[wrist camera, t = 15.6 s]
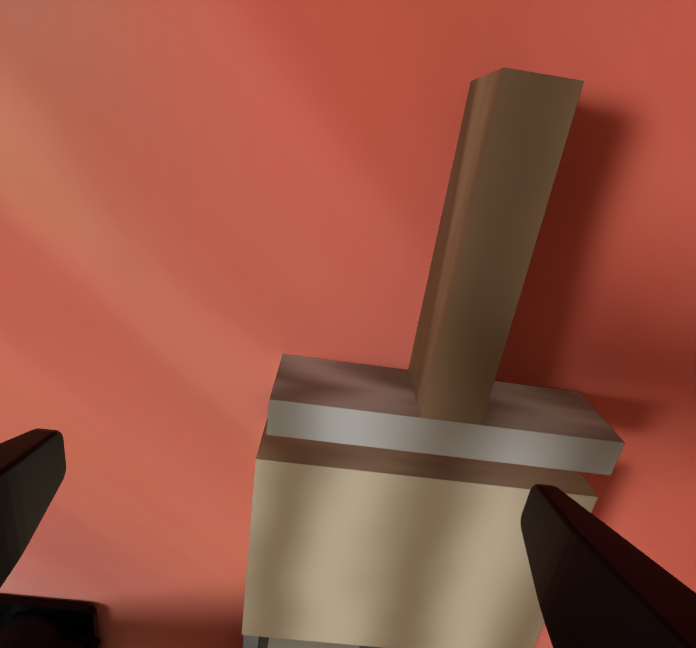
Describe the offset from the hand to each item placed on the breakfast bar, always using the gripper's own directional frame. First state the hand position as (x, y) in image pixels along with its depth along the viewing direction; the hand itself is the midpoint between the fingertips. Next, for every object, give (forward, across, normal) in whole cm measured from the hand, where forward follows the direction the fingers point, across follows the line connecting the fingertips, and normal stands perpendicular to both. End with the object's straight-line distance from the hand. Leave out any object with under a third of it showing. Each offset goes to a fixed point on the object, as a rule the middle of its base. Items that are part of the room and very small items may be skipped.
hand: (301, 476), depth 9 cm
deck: (+12, -6, +12) cm, 18 cm away
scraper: (+12, -6, -2) cm, 14 cm away
